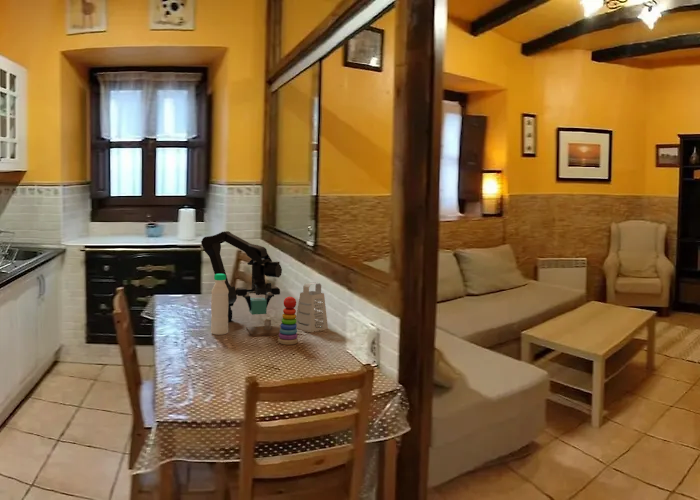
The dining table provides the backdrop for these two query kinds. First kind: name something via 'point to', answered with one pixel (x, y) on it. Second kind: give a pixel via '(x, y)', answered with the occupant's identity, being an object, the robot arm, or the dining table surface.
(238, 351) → the dining table surface
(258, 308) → the teal drawer cube
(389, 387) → the dining table surface
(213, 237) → the robot arm
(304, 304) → the grater
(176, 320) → the dining table surface
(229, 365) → the dining table surface
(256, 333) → the keyed post base
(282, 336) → the stacking toy
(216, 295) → the water bottle
